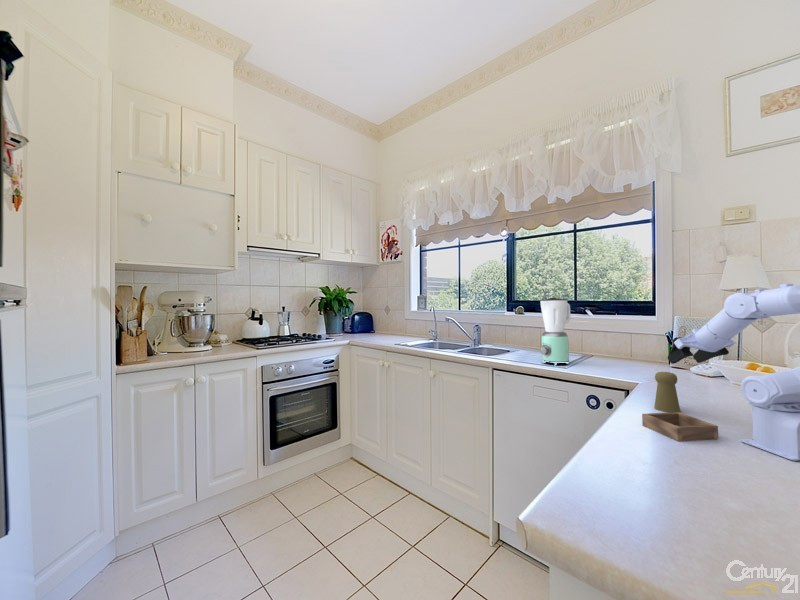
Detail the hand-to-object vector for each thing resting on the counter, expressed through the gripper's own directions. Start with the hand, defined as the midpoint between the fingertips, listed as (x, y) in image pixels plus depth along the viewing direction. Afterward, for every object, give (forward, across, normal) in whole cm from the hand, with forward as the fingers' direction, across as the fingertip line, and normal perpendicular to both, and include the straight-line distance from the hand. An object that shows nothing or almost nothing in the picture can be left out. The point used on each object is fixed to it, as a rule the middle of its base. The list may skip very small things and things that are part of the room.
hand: (683, 360), depth 92 cm
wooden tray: (+3, +12, +18) cm, 22 cm away
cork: (+15, 0, +8) cm, 17 cm away
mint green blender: (+72, -9, -44) cm, 85 cm away
